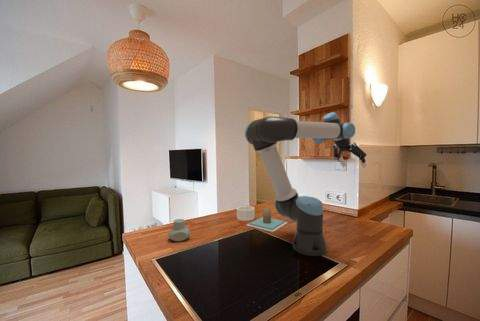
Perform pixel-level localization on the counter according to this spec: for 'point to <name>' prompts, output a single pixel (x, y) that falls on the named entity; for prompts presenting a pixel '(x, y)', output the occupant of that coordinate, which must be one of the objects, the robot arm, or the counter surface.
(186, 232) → the air freshener
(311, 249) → the robot arm
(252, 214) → the bowl
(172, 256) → the counter surface
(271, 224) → the lid
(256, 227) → the mat
